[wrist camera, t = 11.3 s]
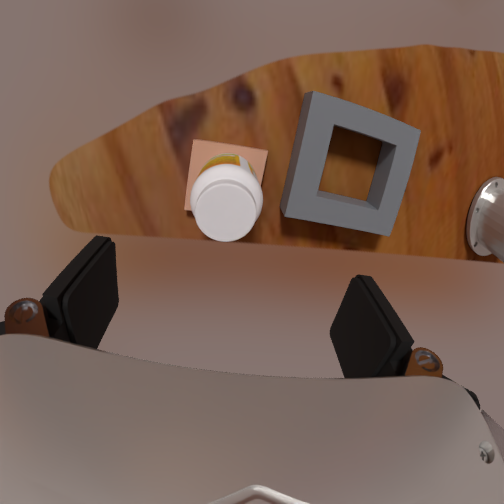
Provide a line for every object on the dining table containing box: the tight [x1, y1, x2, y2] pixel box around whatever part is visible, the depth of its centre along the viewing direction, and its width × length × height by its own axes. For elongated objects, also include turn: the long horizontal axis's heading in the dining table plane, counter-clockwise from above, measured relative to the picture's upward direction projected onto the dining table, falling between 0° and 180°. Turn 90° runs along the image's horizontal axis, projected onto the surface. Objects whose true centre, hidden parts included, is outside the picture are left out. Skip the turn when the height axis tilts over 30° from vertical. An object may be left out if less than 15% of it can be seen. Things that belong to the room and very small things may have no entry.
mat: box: [184, 139, 268, 211], centre depth 27 cm, size 7×7×1 cm
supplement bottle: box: [190, 153, 263, 242], centre depth 22 cm, size 5×5×10 cm
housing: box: [280, 91, 421, 236], centre depth 26 cm, size 12×12×3 cm
